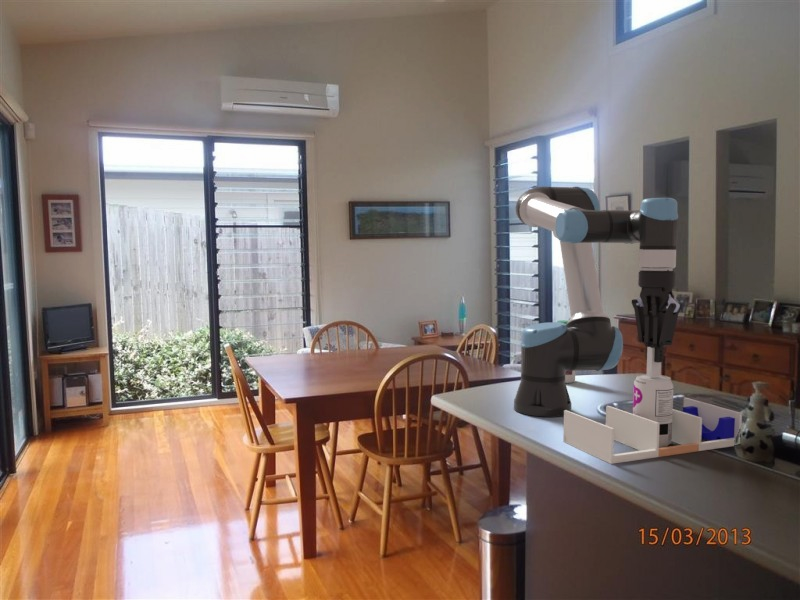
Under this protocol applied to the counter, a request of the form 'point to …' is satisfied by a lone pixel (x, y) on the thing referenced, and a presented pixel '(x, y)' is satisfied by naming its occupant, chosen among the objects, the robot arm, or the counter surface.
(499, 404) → the counter surface
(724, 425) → the blue notched cradle block
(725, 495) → the counter surface
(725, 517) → the counter surface
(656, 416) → the supplement can
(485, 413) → the counter surface
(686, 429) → the can rack
